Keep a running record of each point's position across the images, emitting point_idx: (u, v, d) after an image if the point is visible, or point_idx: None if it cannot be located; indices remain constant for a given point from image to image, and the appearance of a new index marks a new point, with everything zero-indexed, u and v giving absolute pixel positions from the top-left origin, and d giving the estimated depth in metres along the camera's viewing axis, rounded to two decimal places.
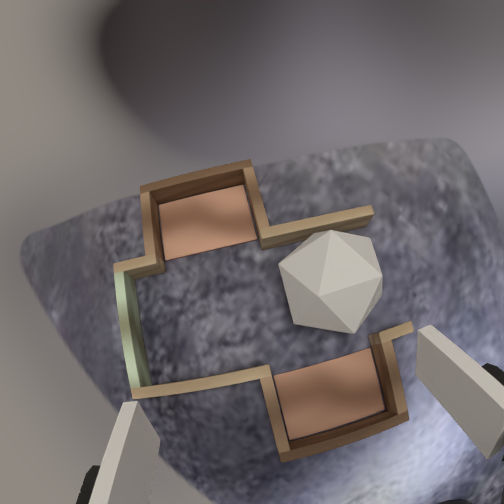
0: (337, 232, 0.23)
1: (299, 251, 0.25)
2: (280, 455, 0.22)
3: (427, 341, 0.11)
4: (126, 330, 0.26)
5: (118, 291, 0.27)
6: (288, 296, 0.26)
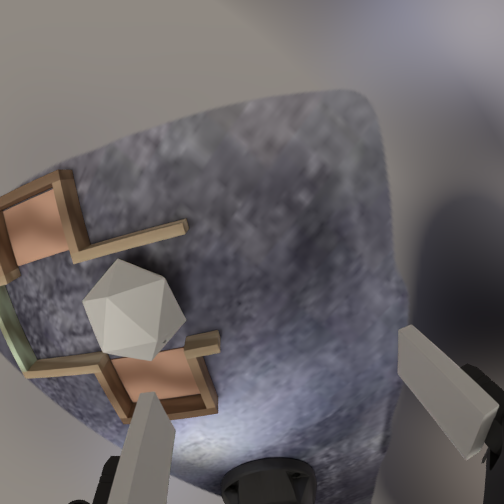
0: (114, 297, 0.22)
1: (91, 300, 0.24)
2: (121, 419, 0.31)
3: (407, 341, 0.12)
4: (6, 334, 0.27)
5: None
6: None
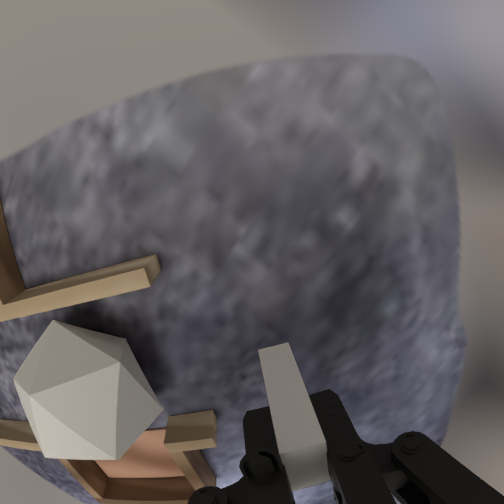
0: (41, 395, 0.11)
1: (19, 385, 0.12)
2: (96, 499, 0.19)
3: None
4: None
5: None
6: None
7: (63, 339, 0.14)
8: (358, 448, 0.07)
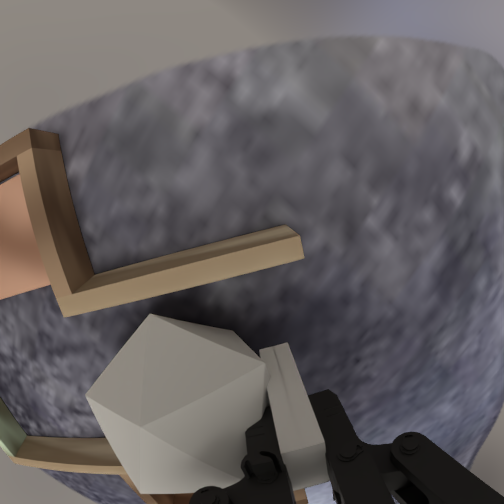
0: (159, 423, 0.09)
1: (103, 407, 0.10)
2: None
3: None
4: None
5: None
6: None
7: (174, 339, 0.12)
8: (357, 449, 0.07)
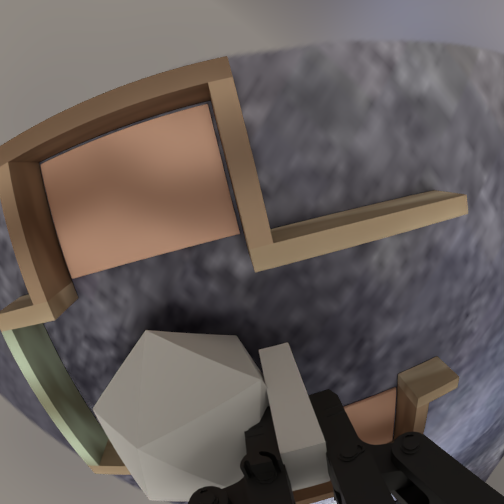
0: (155, 445, 0.09)
1: (107, 424, 0.11)
2: None
3: None
4: (53, 411, 0.14)
5: (18, 360, 0.13)
6: None
7: (169, 357, 0.11)
8: (358, 448, 0.07)
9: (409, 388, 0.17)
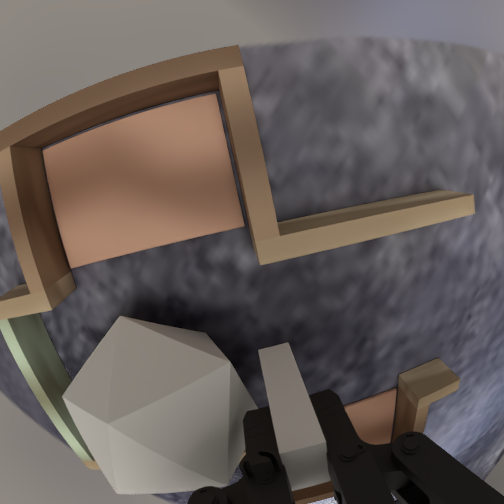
0: (125, 421, 0.09)
1: (77, 407, 0.10)
2: None
3: None
4: (47, 403, 0.14)
5: (13, 350, 0.13)
6: None
7: (142, 340, 0.12)
8: (358, 448, 0.07)
9: (410, 389, 0.17)
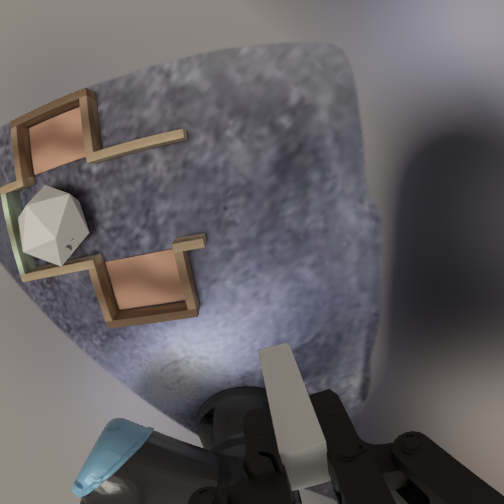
0: (31, 205, 0.26)
1: (21, 213, 0.28)
2: (106, 323, 0.35)
3: None
4: (12, 235, 0.31)
5: (4, 208, 0.30)
6: None
7: (47, 189, 0.29)
8: (358, 448, 0.07)
9: (173, 242, 0.34)
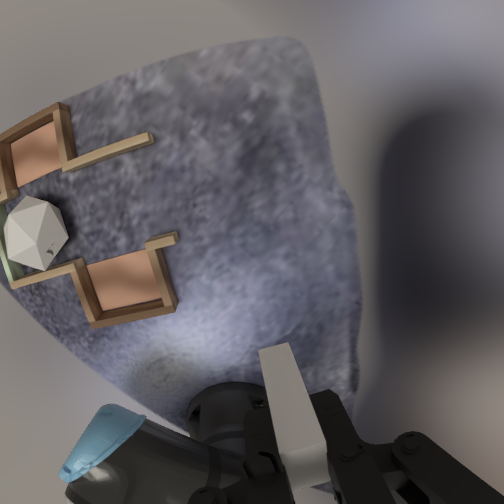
0: (13, 214, 0.27)
1: (5, 223, 0.29)
2: (90, 324, 0.36)
3: None
4: (0, 245, 0.32)
5: None
6: None
7: (28, 199, 0.30)
8: (358, 448, 0.07)
9: (147, 241, 0.35)
